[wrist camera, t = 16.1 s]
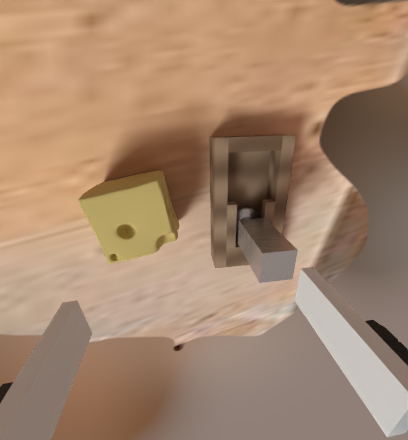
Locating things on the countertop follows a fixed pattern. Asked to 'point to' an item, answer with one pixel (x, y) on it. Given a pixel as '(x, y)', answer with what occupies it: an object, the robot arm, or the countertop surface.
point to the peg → (264, 246)
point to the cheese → (131, 215)
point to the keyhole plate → (246, 187)
